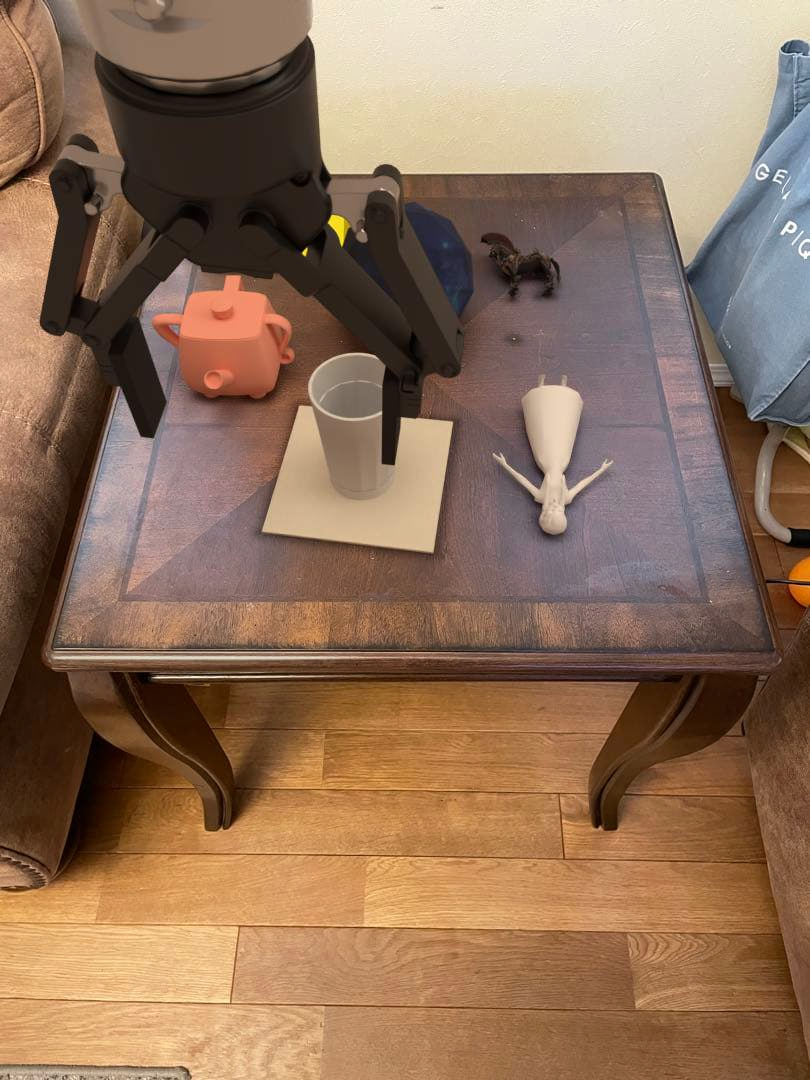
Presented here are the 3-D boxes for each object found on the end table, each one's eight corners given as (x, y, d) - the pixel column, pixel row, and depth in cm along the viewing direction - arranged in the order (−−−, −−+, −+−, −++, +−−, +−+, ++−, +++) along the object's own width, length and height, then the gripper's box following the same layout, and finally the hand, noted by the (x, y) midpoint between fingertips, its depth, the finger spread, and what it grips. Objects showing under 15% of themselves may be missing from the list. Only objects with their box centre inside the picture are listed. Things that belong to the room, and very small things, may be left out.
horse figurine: (570, 349, 91) (545, 246, 97) (582, 327, 88) (555, 222, 93) (495, 351, 90) (474, 246, 95) (505, 328, 86) (482, 221, 92)
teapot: (224, 435, 81) (204, 366, 73) (163, 371, 86) (138, 299, 78) (316, 382, 85) (306, 310, 77) (253, 323, 90) (237, 250, 82)
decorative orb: (473, 233, 90) (394, 143, 79) (518, 320, 82) (436, 233, 71) (378, 312, 96) (292, 238, 85) (411, 400, 88) (320, 331, 77)
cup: (412, 451, 79) (412, 362, 69) (390, 515, 75) (387, 429, 65) (336, 435, 80) (325, 345, 70) (309, 496, 76) (294, 409, 66)
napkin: (262, 533, 74) (261, 531, 74) (299, 407, 83) (299, 405, 83) (433, 553, 73) (433, 552, 73) (452, 423, 82) (453, 421, 81)
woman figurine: (614, 369, 79) (624, 524, 70) (604, 398, 83) (613, 549, 74) (496, 363, 80) (492, 516, 71) (492, 392, 84) (488, 541, 75)
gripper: (-211, 61, 26) (33, 460, 44) (569, 138, 25) (487, 512, 43) (-106, -49, 29) (77, 360, 48) (571, 15, 29) (495, 406, 47)
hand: (272, 432), depth 45 cm, fingers open, 13 cm apart
